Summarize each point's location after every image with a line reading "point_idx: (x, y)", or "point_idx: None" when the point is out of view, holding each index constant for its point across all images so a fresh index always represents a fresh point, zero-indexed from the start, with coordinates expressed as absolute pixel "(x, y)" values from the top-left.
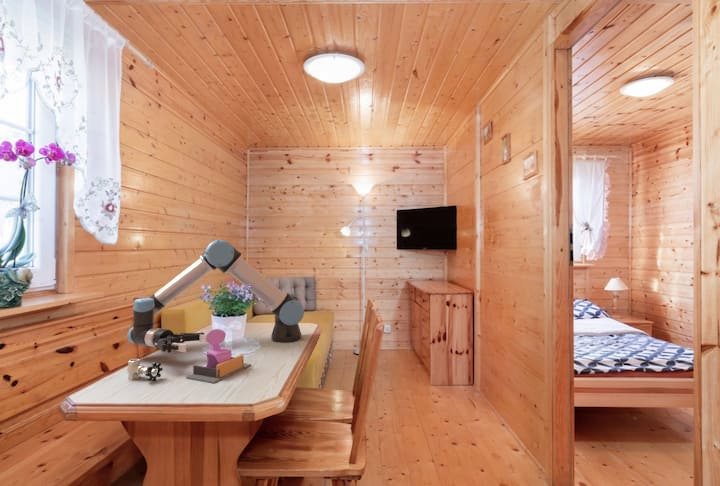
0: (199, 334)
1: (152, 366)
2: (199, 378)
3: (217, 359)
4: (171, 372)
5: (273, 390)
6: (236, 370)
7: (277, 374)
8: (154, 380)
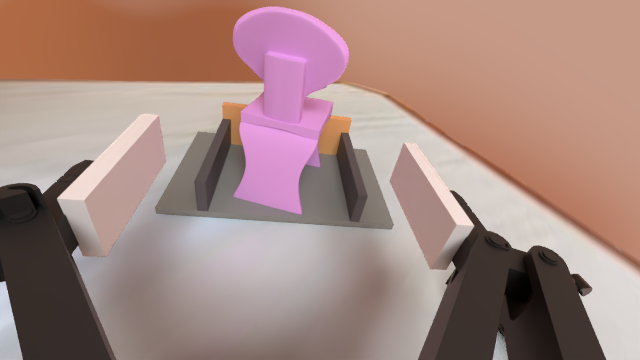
0: (31, 223)
1: None
2: (374, 184)
3: (328, 118)
4: (394, 352)
5: (327, 88)
6: None
7: (252, 93)
8: None
